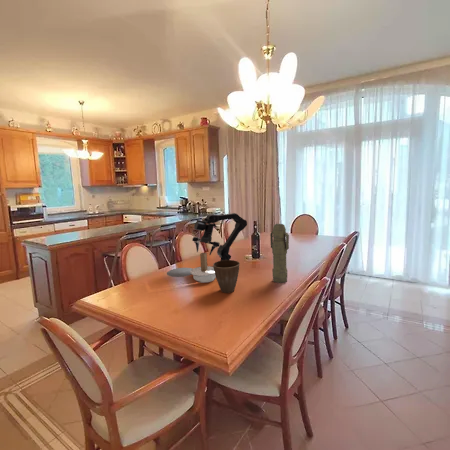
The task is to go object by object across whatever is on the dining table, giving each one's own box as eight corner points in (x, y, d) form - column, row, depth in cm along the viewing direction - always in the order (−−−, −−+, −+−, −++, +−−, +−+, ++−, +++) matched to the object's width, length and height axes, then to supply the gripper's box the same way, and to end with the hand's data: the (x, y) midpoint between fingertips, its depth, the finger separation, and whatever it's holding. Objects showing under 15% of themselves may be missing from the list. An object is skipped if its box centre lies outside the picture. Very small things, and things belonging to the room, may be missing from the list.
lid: (200, 266, 195) (199, 249, 194) (223, 268, 187) (222, 251, 185) (184, 274, 180) (183, 255, 178) (209, 277, 171) (208, 258, 170)
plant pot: (232, 297, 153) (230, 269, 150) (209, 293, 161) (207, 265, 158) (245, 288, 165) (244, 261, 163) (223, 284, 173) (222, 258, 171)
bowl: (216, 275, 191) (216, 268, 190) (214, 282, 177) (214, 274, 176) (195, 275, 191) (195, 268, 191) (192, 283, 178) (191, 275, 177)
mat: (197, 268, 207) (197, 267, 206) (193, 278, 187) (193, 276, 187) (170, 269, 208) (170, 268, 207) (163, 279, 188) (163, 277, 188)
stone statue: (286, 284, 168) (285, 226, 163) (268, 281, 175) (267, 224, 170) (292, 279, 176) (291, 223, 170) (274, 276, 182) (273, 222, 177)
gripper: (192, 229, 193) (187, 251, 193) (219, 235, 191) (214, 257, 191) (196, 229, 204) (191, 250, 205) (221, 234, 202) (217, 256, 202)
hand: (203, 253), depth 200 cm, fingers open, 9 cm apart
